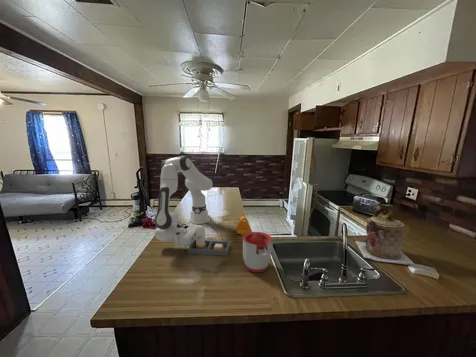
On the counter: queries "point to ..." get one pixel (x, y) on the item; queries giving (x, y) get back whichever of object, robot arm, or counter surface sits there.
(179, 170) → the robot arm
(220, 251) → the grey divided tray
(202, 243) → the white upright block
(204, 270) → the counter surface
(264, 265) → the citrus juicer
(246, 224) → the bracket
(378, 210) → the cookie jar
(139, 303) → the counter surface
